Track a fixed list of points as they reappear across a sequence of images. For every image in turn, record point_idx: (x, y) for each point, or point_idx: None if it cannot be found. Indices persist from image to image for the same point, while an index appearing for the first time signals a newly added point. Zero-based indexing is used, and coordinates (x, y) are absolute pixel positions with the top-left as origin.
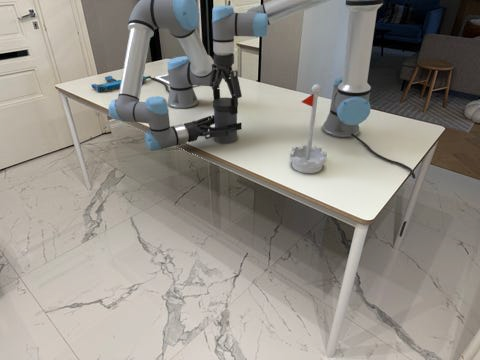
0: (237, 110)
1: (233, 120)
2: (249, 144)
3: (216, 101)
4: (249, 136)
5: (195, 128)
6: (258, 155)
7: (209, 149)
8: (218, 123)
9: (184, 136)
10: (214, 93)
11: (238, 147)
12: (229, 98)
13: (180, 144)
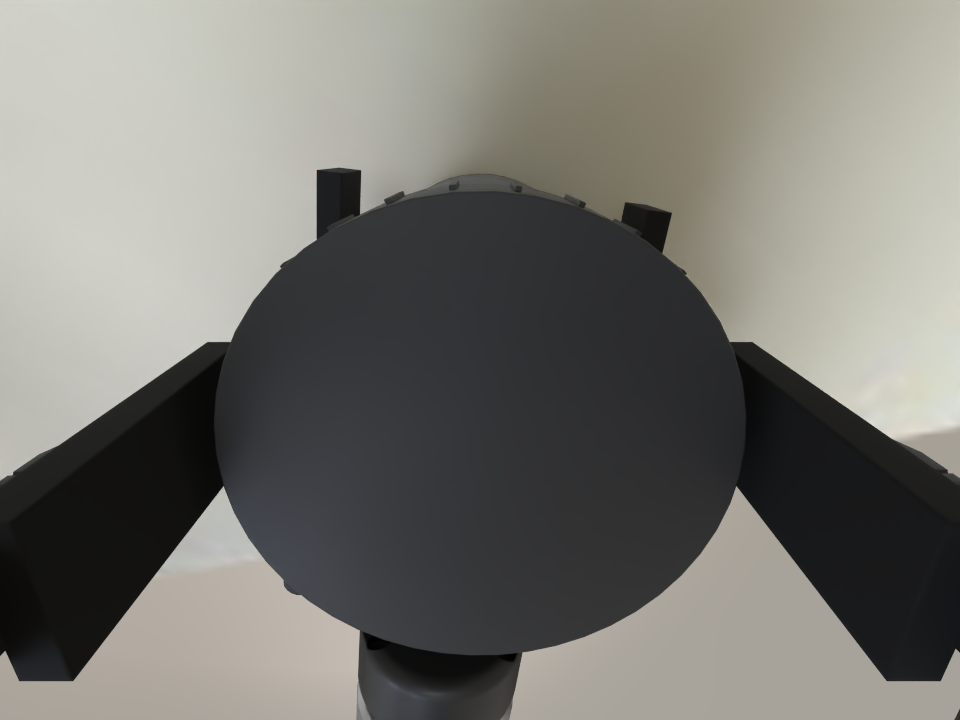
0: (780, 362)
1: None
2: (716, 181)
3: (369, 575)
4: (592, 62)
5: (507, 677)
6: (908, 248)
7: None
8: None
9: (509, 717)
10: (129, 606)
11: None
12: (358, 282)
13: None
